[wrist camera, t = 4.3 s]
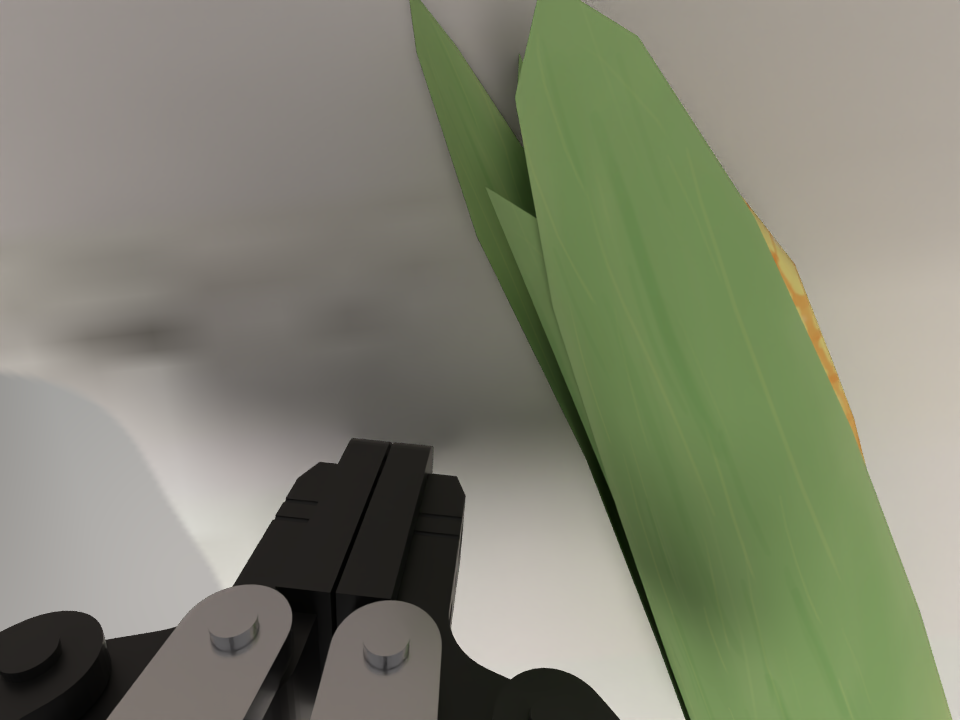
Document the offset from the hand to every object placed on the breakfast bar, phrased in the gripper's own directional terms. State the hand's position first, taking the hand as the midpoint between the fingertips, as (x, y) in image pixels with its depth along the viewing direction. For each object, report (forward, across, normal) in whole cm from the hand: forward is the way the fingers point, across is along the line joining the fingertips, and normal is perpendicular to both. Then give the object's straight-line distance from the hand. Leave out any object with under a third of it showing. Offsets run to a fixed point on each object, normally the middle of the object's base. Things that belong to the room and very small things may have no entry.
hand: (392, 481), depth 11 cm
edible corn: (+2, -6, 0) cm, 7 cm away
